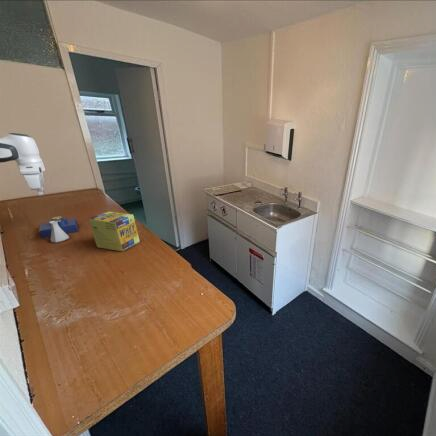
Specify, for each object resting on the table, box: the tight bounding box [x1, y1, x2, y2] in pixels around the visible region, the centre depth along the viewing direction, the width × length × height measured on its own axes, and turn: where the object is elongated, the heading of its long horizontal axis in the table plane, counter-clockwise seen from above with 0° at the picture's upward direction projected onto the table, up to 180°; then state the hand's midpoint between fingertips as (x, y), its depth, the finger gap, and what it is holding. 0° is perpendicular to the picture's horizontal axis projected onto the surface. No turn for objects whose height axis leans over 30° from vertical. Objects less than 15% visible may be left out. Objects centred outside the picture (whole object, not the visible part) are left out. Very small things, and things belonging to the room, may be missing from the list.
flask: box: [48, 221, 70, 243], centre depth 118 cm, size 7×7×10 cm
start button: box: [51, 215, 63, 221], centre depth 127 cm, size 4×4×2 cm
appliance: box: [39, 217, 79, 239], centre depth 127 cm, size 14×11×6 cm
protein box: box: [87, 211, 140, 252], centre depth 114 cm, size 10×15×16 cm
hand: (41, 194), depth 121 cm, fingers closed
